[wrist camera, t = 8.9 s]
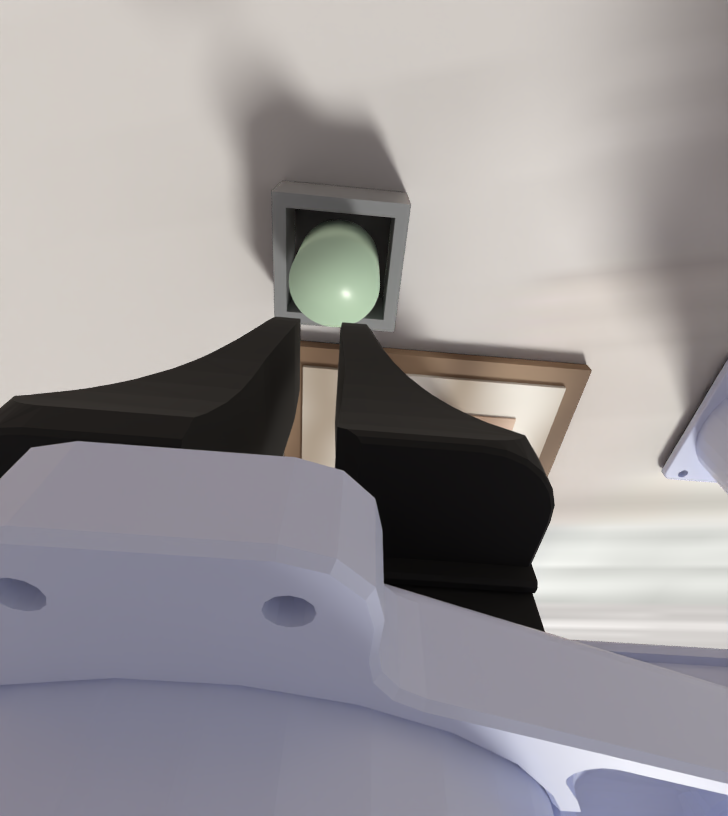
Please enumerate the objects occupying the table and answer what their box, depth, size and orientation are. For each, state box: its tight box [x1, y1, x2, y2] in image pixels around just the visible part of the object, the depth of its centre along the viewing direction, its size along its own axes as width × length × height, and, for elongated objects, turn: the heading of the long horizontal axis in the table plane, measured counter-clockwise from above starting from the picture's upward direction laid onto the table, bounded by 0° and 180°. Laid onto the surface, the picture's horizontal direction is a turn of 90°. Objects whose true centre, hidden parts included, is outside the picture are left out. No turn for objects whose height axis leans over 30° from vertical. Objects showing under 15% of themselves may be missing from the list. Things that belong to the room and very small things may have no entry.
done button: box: [289, 219, 380, 327], centre depth 17 cm, size 3×3×3 cm
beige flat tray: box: [284, 341, 592, 477], centre depth 28 cm, size 15×21×1 cm
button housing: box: [271, 181, 411, 332], centre depth 19 cm, size 5×5×2 cm
